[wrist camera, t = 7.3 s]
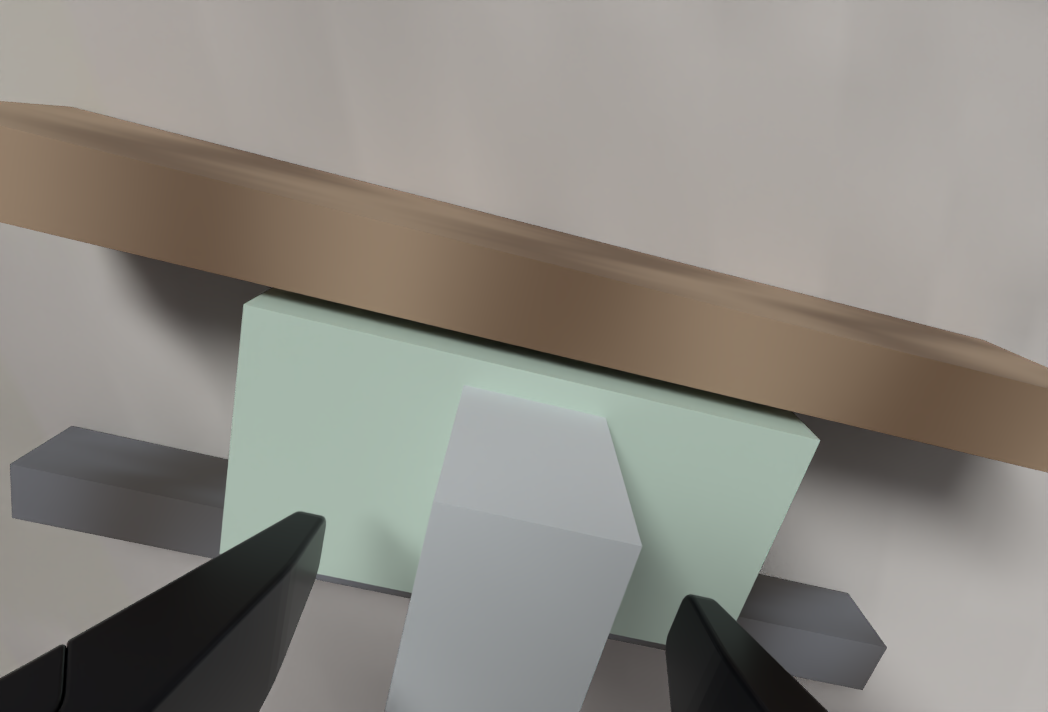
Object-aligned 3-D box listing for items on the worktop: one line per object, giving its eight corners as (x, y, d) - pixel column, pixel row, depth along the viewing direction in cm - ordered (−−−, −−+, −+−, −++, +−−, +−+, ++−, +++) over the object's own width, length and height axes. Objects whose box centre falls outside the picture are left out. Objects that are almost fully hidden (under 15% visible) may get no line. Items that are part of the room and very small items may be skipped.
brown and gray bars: (982, 339, 15) (1163, 417, 11) (827, 632, 18) (920, 783, 14) (71, 107, 13) (-145, 89, 9) (72, 474, 16) (-89, 590, 12)
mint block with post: (729, 348, 15) (955, 577, 7) (666, 511, 17) (792, 848, 9) (336, 251, 14) (97, 386, 6) (309, 433, 16) (93, 722, 8)
